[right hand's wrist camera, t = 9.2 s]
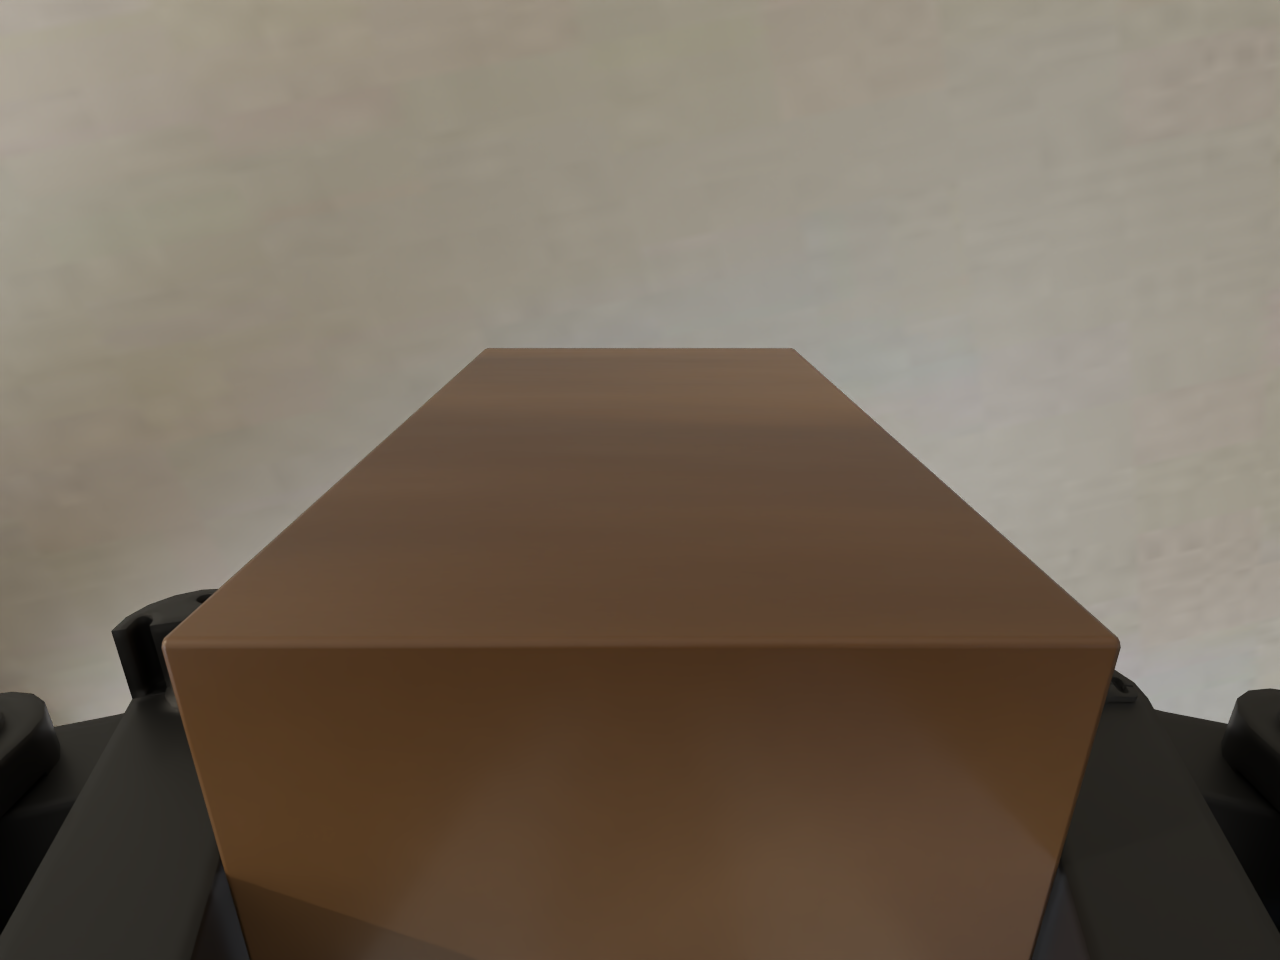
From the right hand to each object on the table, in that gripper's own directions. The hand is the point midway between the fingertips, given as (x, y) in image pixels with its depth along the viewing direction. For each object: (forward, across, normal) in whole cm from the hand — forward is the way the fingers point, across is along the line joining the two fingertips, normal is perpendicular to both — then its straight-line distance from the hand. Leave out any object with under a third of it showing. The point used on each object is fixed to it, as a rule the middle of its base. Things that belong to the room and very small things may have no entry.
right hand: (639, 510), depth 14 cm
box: (+1, 0, -8) cm, 8 cm away
